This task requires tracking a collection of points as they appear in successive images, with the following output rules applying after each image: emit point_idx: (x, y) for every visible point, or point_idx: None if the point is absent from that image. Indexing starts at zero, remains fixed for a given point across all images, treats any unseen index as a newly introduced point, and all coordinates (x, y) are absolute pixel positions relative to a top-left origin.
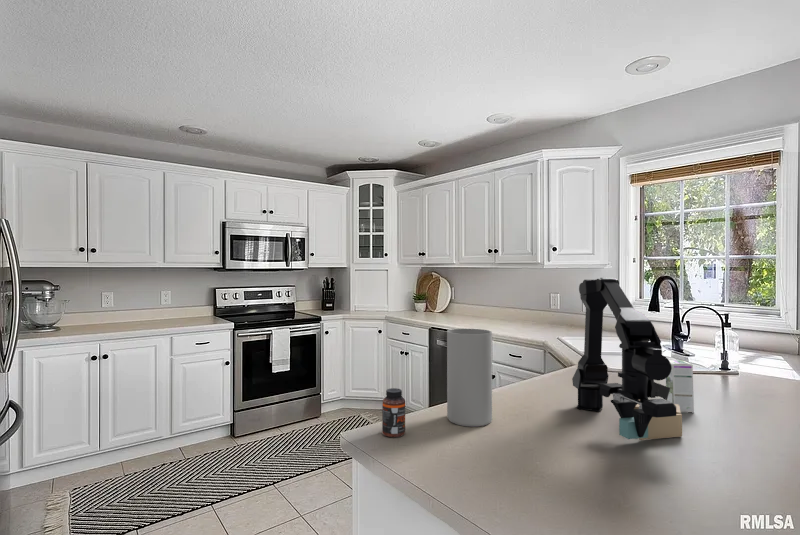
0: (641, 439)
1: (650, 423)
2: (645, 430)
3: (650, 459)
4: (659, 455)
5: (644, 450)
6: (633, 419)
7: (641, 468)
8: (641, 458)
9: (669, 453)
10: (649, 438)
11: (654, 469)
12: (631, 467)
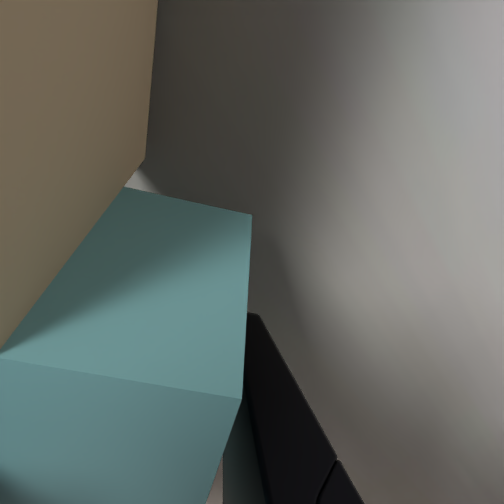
0: (143, 151)
1: (56, 10)
2: (288, 375)
3: (426, 384)
4: (439, 291)
5: (315, 303)
6: (85, 501)
7: (444, 481)
8: (381, 409)
9: (486, 181)
10: (154, 32)
11: (498, 454)
12: (406, 498)
